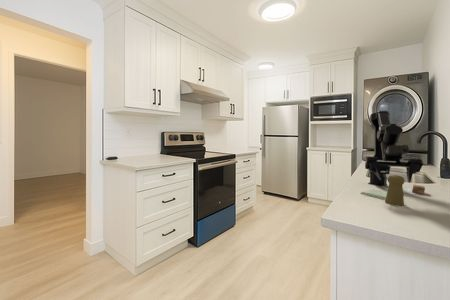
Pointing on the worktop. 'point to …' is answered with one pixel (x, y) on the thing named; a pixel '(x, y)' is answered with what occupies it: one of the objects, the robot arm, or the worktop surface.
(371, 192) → the baseplate
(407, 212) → the worktop surface
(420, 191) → the brick
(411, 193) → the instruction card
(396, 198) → the cork
